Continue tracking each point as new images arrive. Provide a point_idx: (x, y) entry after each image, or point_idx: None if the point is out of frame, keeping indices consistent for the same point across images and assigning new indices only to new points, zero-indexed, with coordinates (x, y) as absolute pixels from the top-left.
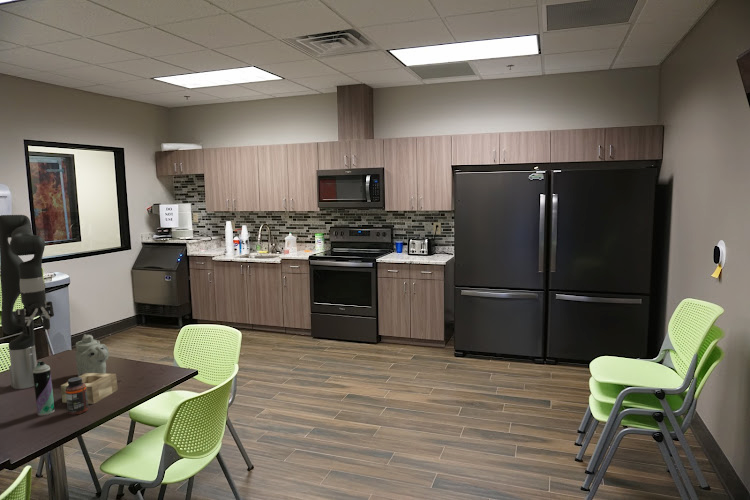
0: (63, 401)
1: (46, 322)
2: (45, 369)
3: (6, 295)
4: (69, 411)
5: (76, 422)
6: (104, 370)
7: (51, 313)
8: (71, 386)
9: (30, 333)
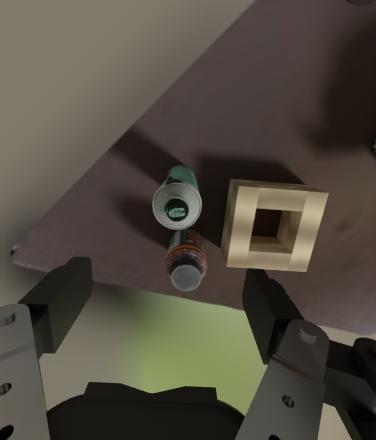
0: (230, 182)
1: (257, 335)
2: (169, 226)
3: None
4: (170, 239)
5: (143, 267)
6: None
7: (353, 435)
8: (170, 272)
9: (82, 301)
